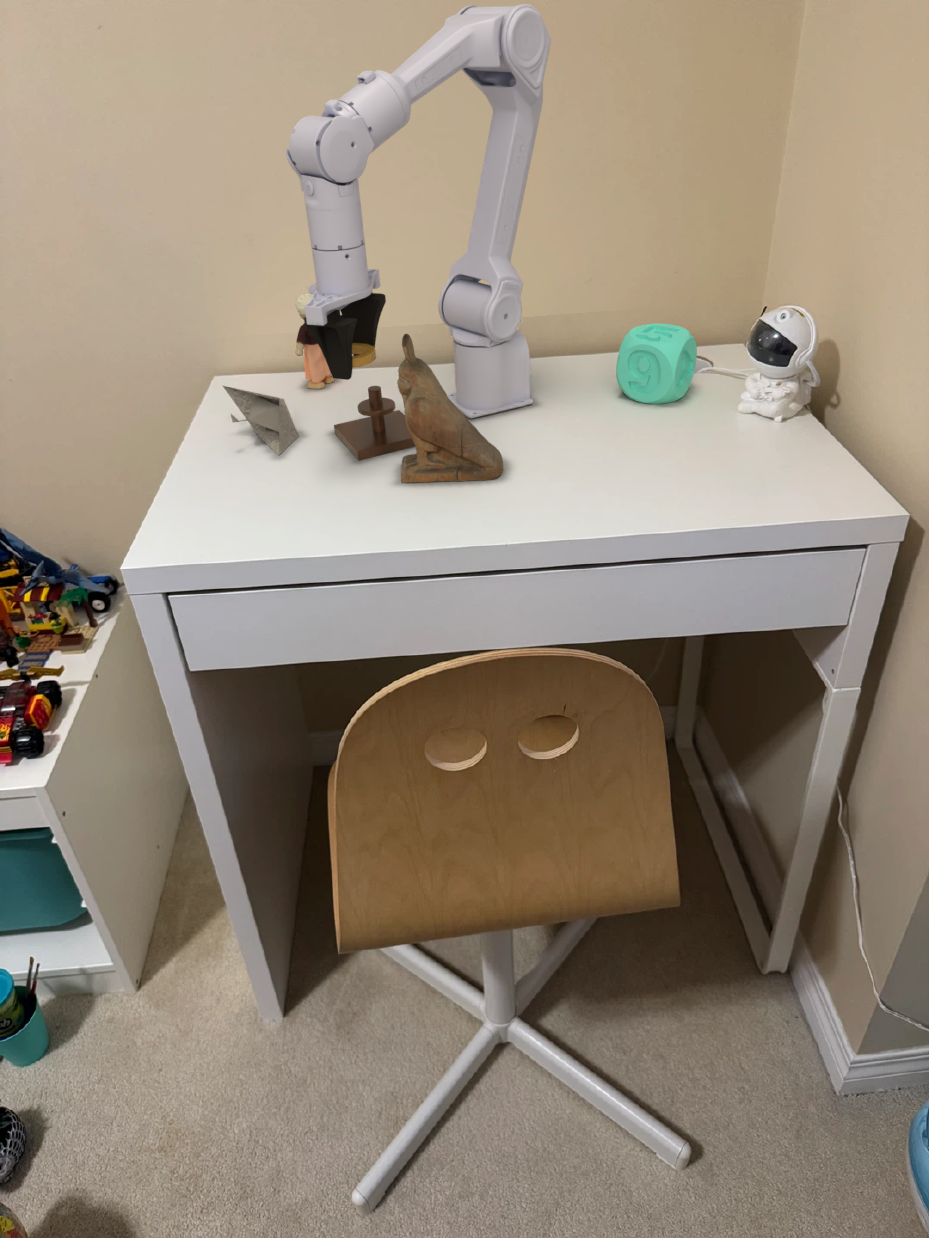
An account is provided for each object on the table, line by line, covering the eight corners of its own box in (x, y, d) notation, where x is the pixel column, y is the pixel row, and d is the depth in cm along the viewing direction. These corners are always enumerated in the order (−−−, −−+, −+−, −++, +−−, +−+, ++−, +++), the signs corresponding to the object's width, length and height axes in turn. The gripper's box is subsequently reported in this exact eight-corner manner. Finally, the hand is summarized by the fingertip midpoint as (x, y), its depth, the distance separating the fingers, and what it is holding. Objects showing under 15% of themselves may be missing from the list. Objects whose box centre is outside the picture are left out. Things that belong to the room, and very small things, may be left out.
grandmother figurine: (319, 373, 132) (306, 285, 125) (342, 375, 131) (330, 286, 124) (294, 393, 127) (278, 302, 119) (318, 395, 125) (304, 303, 118)
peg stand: (399, 418, 118) (395, 369, 114) (427, 443, 111) (422, 392, 107) (334, 433, 115) (327, 384, 111) (358, 460, 108) (351, 408, 104)
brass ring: (366, 348, 106) (365, 339, 105) (383, 362, 102) (382, 353, 101) (321, 357, 104) (320, 348, 104) (336, 371, 100) (335, 362, 99)
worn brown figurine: (405, 502, 104) (353, 355, 94) (410, 479, 108) (361, 336, 98) (504, 481, 102) (462, 328, 91) (505, 459, 106) (466, 310, 96)
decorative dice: (694, 387, 121) (700, 327, 116) (671, 408, 116) (676, 347, 111) (638, 378, 125) (642, 320, 120) (614, 398, 119) (617, 338, 115)
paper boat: (326, 429, 113) (273, 437, 106) (304, 465, 117) (251, 476, 110) (268, 363, 115) (213, 367, 108) (248, 400, 119) (194, 407, 112)
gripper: (335, 227, 102) (349, 345, 110) (271, 261, 91) (292, 389, 99) (391, 229, 100) (402, 349, 108) (333, 263, 89) (349, 394, 97)
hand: (353, 368), depth 104 cm, fingers closed on brass ring, 5 cm apart
